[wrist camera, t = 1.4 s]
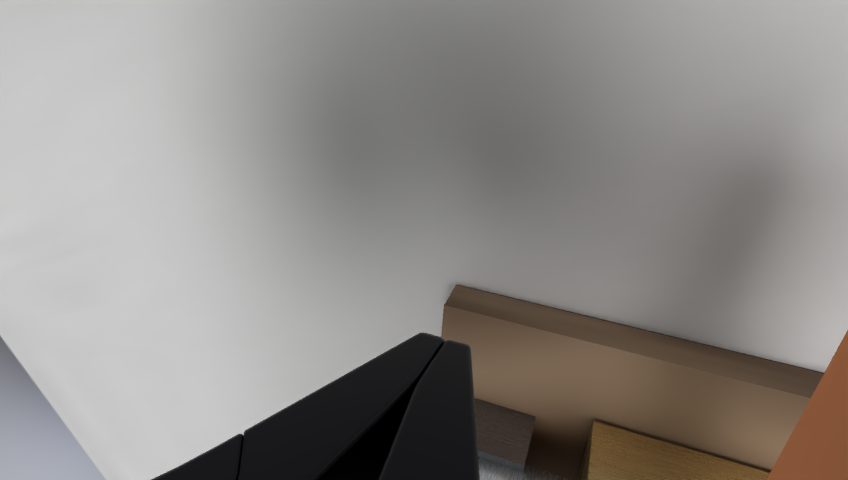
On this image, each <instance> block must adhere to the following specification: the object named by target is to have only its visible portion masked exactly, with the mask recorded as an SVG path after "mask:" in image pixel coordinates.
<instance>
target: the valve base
mask: <svg viewBox="0 0 848 480" xmlns="http://www.w3.org/2000/svg"><path fill="white" fill-rule="evenodd" d="M441 337H442V338H443V339H444V340H445V341H446V340H453V341H457V342H461V343H464V344H468V345H469V346H470V347H471V356H472V370H473V385H474V400H475V415H476V430H477V445H478V460H479V475H480V480H767V478H768V476H769V474H770V472H771V471H772V469H773V467H774V465H775V463H776V461H777V459H778V458H779V456H780V454H781V452H782V450H783V448H784V447H785V445H786V443H787V441H788V439H789V437H790V436H791V434H792V432H793V430H794V428H795V426H796V425H797V423H798V421H799V419H800V417H801V415H802V413H803V412H804V410H805V408H806V406H807V404H808V402H809V401H810V399H811V397H812V395H813V393H814V391H815V390H816V388H817V386H818V384H819V382H820V380H821V379H822V377H823V375H824V373H820V372H816V371H812V370H807V369H803V368H799V367H795V366H791V365H787V364H782V363H778V362H774V361H770V360H766V359H762V358H758V357H753V356H749V355H745V354H741V353H737V352H733V351H729V350H724V349H720V348H716V347H712V346H708V345H704V344H699V343H695V342H691V341H687V340H683V339H679V338H675V337H670V336H666V335H662V334H658V333H654V332H650V331H645V330H641V329H637V328H633V327H629V326H625V325H621V324H616V323H612V322H608V321H604V320H600V319H596V318H592V317H587V316H583V315H579V314H575V313H571V312H567V311H562V310H558V309H554V308H550V307H546V306H542V305H538V304H533V303H529V302H525V301H521V300H517V299H513V298H509V297H504V296H500V295H496V294H492V293H488V292H484V291H479V290H475V289H471V288H467V287H463V286H459V285H456V286H455V288H454V289H453V291H452V293H451V294H450V296H449V298H448V300H447V301H446V303H445V305H444V314H443V325H442V336H441Z"/></svg>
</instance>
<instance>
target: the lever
mask: <svg viewBox="0 0 848 480" xmlns="http://www.w3.org/2000/svg"><path fill="white" fill-rule="evenodd" d="M767 480H848V331H847V332H846V334H845V336H844V338H843V340H842V342H841V344H840V345H839V347H838V349H837V351H836V353H835V355H834V356H833V358H832V360H831V362H830V364H829V366H828V367H827V369H826V371H825V373H824V375H823V377H822V379H821V380H820V382H819V384H818V386H817V388H816V390H815V391H814V393H813V395H812V397H811V399H810V401H809V402H808V404H807V406H806V408H805V410H804V412H803V413H802V415H801V417H800V419H799V421H798V423H797V425H796V426H795V428H794V430H793V432H792V434H791V436H790V437H789V439H788V441H787V443H786V445H785V447H784V448H783V450H782V452H781V454H780V456H779V458H778V459H777V461H776V463H775V465H774V467H773V469H772V471H771V472H770V474H769V476H768V478H767Z"/></svg>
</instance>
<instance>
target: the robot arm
mask: <svg viewBox="0 0 848 480" xmlns="http://www.w3.org/2000/svg"><path fill="white" fill-rule="evenodd" d="M152 480H480V475H479V460H478V445H477V430H476V415H475V400H474V385H473V370H472V356H471V347H470V346H469V345H468V344H464V343H461V342H457V341H453V340H446V341H445V340H444V339H443V338H442V337H439V336H435V335H431V334H428V333H419V334H417V335H415V336H413V337H412V338H410V339H408V340H406V341H404V342H403V343H401V344H399V345H397V346H396V347H394V348H392V349H390V350H388V351H387V352H385V353H383V354H381V355H379V356H378V357H376V358H374V359H372V360H370V361H369V362H367V363H365V364H363V365H362V366H360V367H358V368H356V369H354V370H353V371H351V372H349V373H347V374H345V375H344V376H342V377H340V378H338V379H337V380H335V381H333V382H331V383H329V384H328V385H326V386H324V387H322V388H320V389H319V390H317V391H315V392H313V393H311V394H310V395H308V396H306V397H304V398H303V399H301V400H299V401H297V402H295V403H294V404H292V405H290V406H288V407H286V408H285V409H283V410H281V411H279V412H277V413H276V414H274V415H272V416H270V417H269V418H267V419H265V420H263V421H261V422H260V423H258V424H256V425H254V426H252V427H251V428H249V429H247V430H245V432H244V436H243V435H242V434H238V435H236V436H234V437H232V438H231V439H229V440H227V441H225V442H223V443H222V444H220V445H218V446H216V447H214V448H213V449H211V450H209V451H207V452H205V453H203V454H201V455H199V456H197V457H196V458H194V459H192V460H190V461H188V462H186V463H184V464H182V465H180V466H179V467H177V468H174V469H172V470H170V471H168V472H166V473H164V474H162V475H160V476H158V477H156V478H154V479H152Z"/></svg>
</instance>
